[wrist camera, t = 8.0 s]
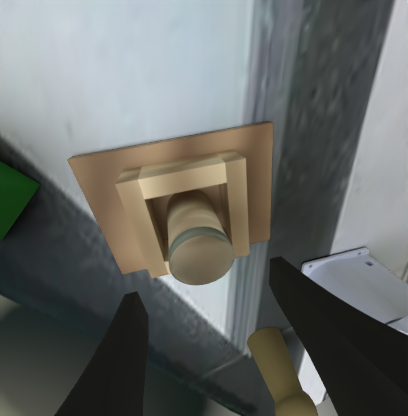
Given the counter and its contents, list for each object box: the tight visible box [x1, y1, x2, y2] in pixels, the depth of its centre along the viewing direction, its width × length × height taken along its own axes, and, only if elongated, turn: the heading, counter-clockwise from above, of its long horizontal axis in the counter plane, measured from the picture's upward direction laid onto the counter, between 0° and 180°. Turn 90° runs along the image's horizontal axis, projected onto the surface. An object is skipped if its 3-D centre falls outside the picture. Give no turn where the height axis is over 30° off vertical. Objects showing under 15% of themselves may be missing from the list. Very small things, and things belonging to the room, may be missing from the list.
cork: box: [247, 327, 318, 416], centre depth 29 cm, size 6×6×11 cm
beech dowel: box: [167, 189, 234, 285], centre depth 16 cm, size 4×4×7 cm
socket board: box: [68, 121, 273, 278], centre depth 18 cm, size 16×12×4 cm
